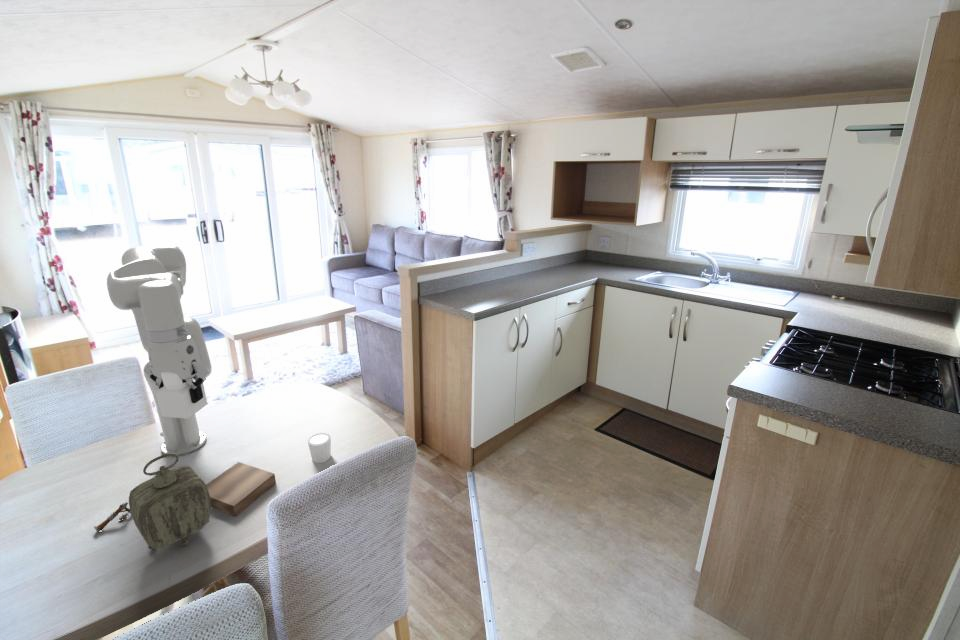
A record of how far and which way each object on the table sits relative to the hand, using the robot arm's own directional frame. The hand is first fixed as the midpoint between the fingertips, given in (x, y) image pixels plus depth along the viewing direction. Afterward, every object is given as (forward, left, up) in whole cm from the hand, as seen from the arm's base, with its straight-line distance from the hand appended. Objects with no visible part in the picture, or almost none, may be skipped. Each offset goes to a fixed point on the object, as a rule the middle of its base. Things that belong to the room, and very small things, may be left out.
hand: (183, 398), depth 111 cm
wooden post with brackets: (-17, -13, -34) cm, 40 cm away
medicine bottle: (0, 0, -4) cm, 4 cm away
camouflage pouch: (+5, -11, -34) cm, 36 cm away
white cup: (+14, +29, -34) cm, 47 cm away
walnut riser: (+3, +7, -34) cm, 34 cm away
